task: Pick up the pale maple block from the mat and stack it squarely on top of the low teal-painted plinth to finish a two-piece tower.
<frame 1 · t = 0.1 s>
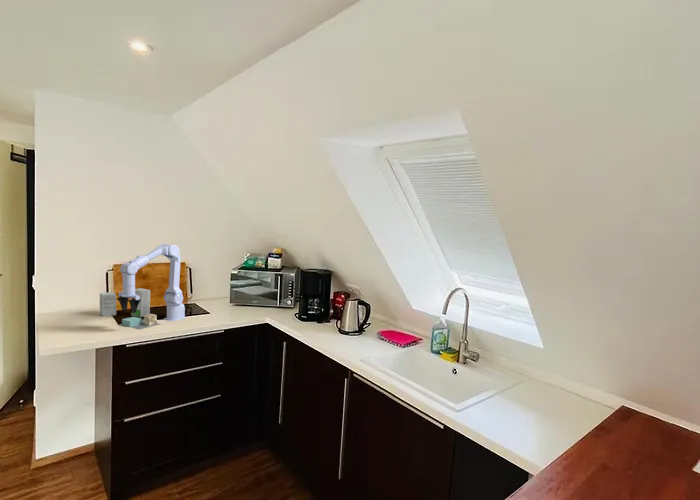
hand: (129, 311, 220), 10 cm above the worktop, tool pointing down, fingers open, 7 cm apart
maple block: (150, 324, 232), resting on mat
supplement box: (108, 314, 249), on the worktop
plinth: (132, 324, 230), resting on mat
mat: (140, 324, 231), on the worktop
skincare box: (140, 315, 250), on the worktop
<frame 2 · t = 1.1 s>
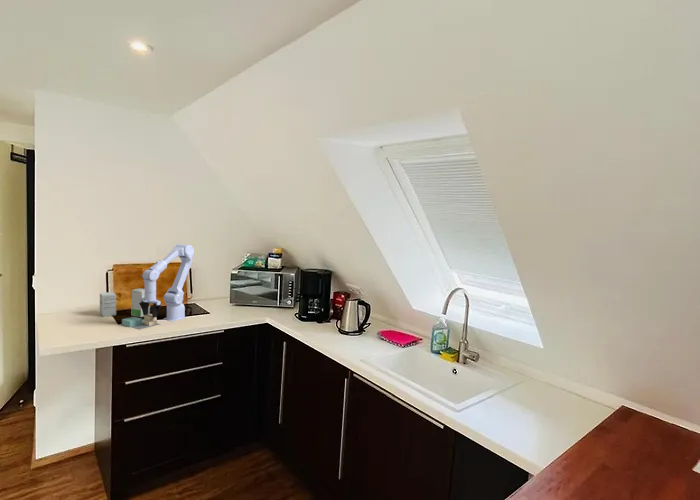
hand: (150, 316, 231), 5 cm above the worktop, tool pointing down, fingers open, 7 cm apart
nothing on the worktop moved.
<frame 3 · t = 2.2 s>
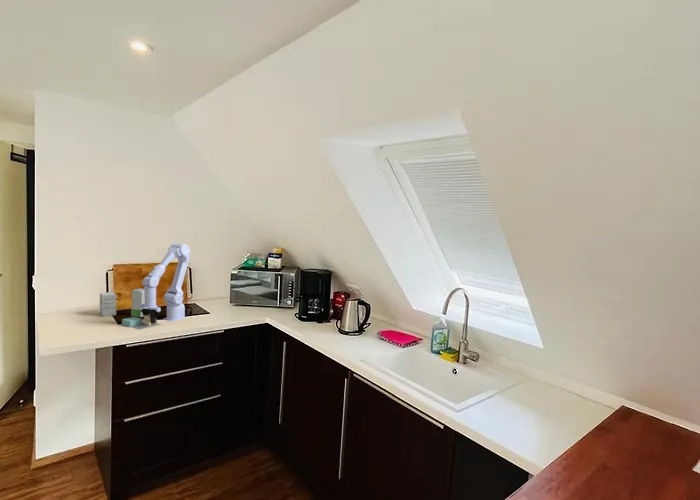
hand: (150, 322, 232), 1 cm above the worktop, tool pointing down, fingers closed on maple block, 4 cm apart
maple block: (150, 324, 232), resting on mat, touching gripper
everything else where it was.
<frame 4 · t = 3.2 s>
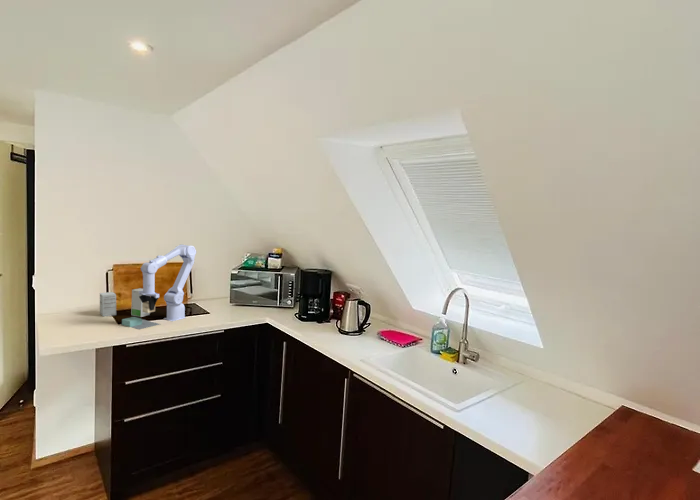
hand: (148, 309, 231), 9 cm above the worktop, tool pointing down, fingers closed on maple block, 4 cm apart
maple block: (148, 311, 231), point 8 cm above the worktop, touching gripper
everything else where it was.
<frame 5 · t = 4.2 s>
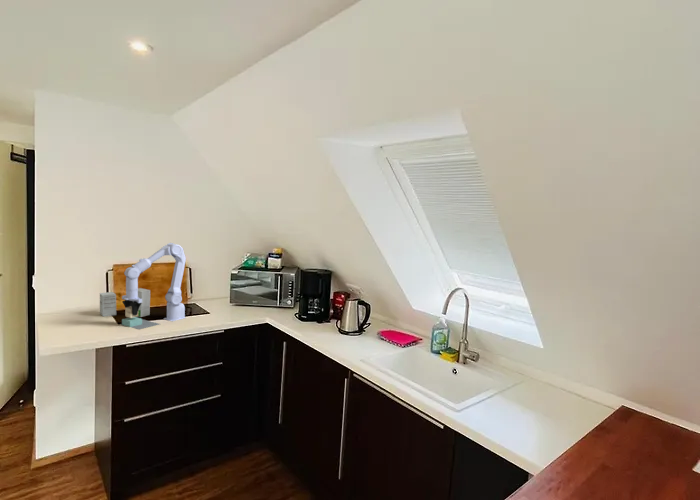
hand: (132, 314, 229), 6 cm above the worktop, tool pointing down, fingers closed on maple block, 4 cm apart
maple block: (131, 316, 229), point 5 cm above the worktop, touching gripper
everything else where it was.
when the fingers open (6 cm above the worktop, at t = 4.7 s): maple block stays where it is, resting on plinth.
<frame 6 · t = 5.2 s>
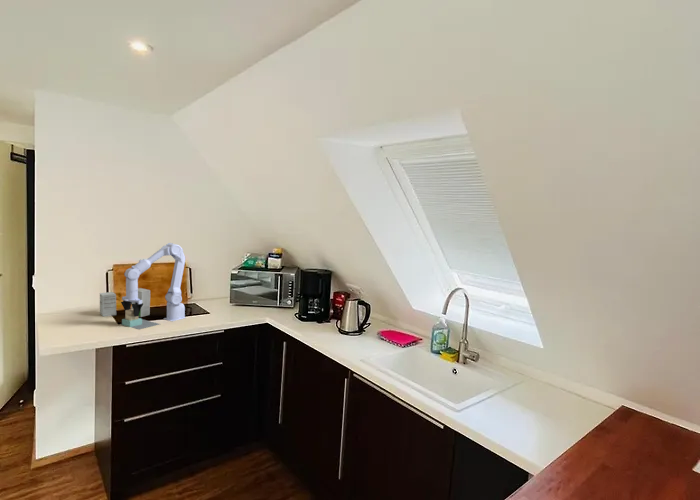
hand: (132, 315, 230), 6 cm above the worktop, tool pointing down, fingers open, 7 cm apart
maple block: (131, 319, 230), point 3 cm above the worktop, touching plinth
plinth: (132, 324, 230), resting on mat, touching maple block
everything else where it was.
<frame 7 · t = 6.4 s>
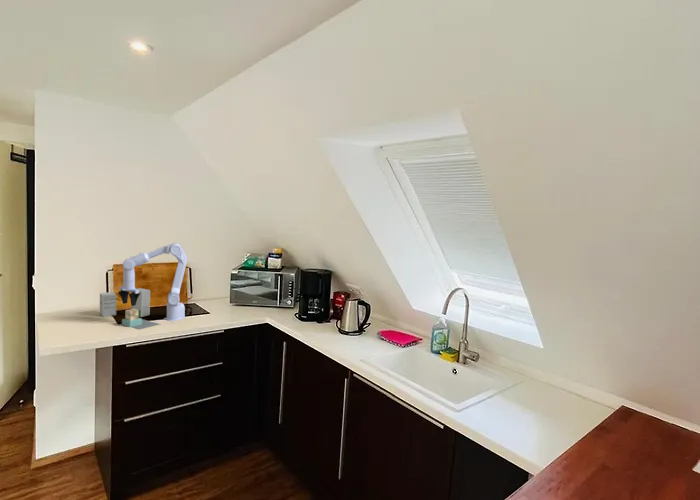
hand: (129, 304, 235), 10 cm above the worktop, tool pointing down, fingers open, 7 cm apart
nothing on the worktop moved.
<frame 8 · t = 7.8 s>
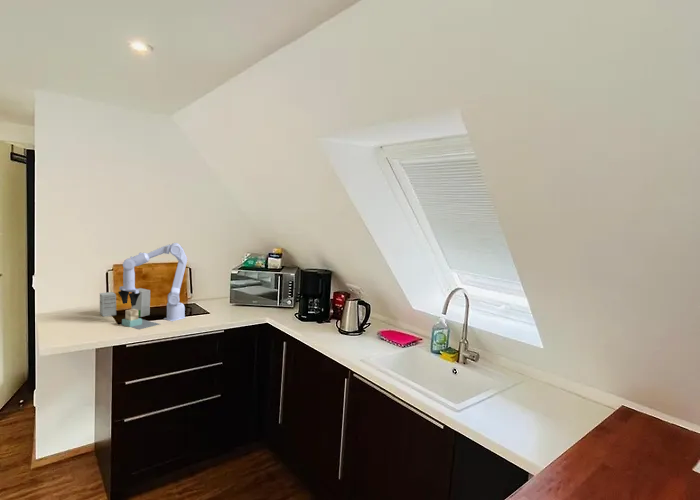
hand: (129, 304, 235), 10 cm above the worktop, tool pointing down, fingers open, 7 cm apart
nothing on the worktop moved.
at the end: maple block 0.1 cm off-centre on the plinth, point 3.0 cm above the plinth's base; maple block tilted 0°; the gripper is holding nothing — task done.
